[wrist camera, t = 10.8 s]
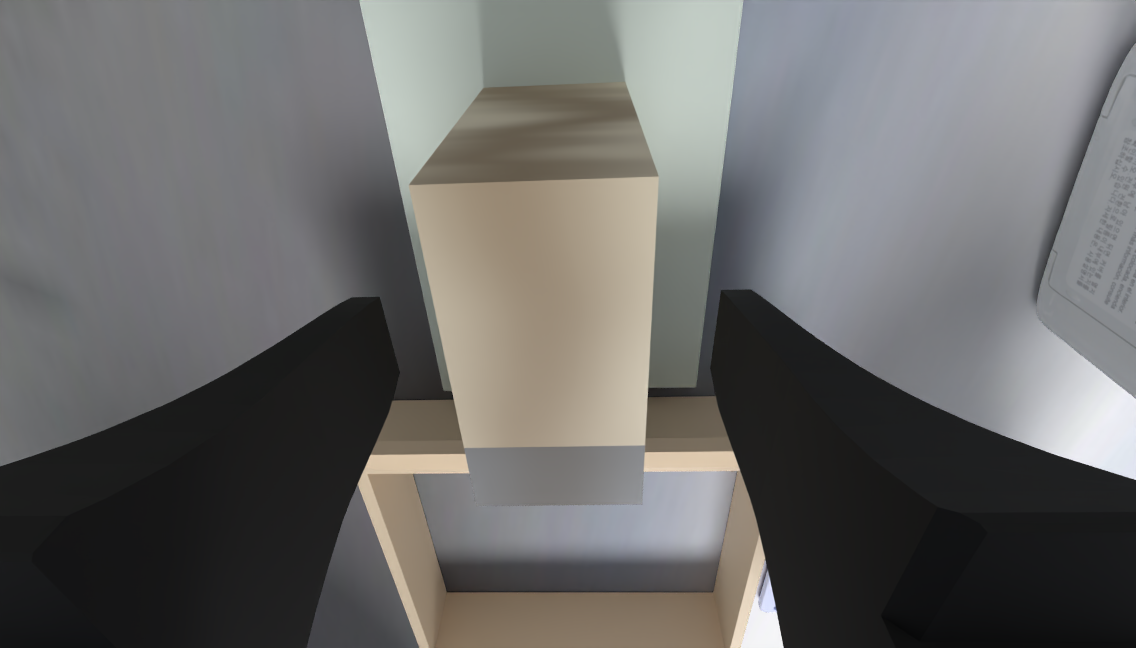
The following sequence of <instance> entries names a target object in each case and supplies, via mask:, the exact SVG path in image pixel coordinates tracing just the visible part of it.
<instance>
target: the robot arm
mask: <svg viewBox="0 0 1136 648" xmlns="http://www.w3.org/2000/svg"><path fill="white" fill-rule="evenodd" d="M710 369H711V374H712V379H713V385H714V390H715V395H716V400H717V404H718V409H719V412H720V415H721V418H722V421H723V423H724V426H725V429H726V432H727V435H728V438H729V441H730V444H731V446H732V449H733V452H734V455H735V458H736V461H737V463H738V466H739V469H740V472H741V475H742V478H743V480H744V483H745V486H746V489H747V492H748V494H749V497H750V501H751V504H752V507H753V511H754V514H755V517H756V521H757V525H758V530H759V534H760V538H761V543H762V547H763V551H764V555H765V560H766V564H767V569H768V570H767V574H766V577H765V581H764V584H763V587H762V591H761V594H760V598H759V601H758V603H759V607H760V609H761V611H764V612H777V615H778V620H779V626H780V631H781V636H782V641H783V646H784V648H1136V480H1134V479H1131V478H1127V477H1124V476H1121V475H1118V474H1115V473H1111V472H1108V471H1105V470H1102V469H1098V468H1095V467H1092V466H1089V465H1086V464H1082V463H1079V462H1076V461H1073V460H1070V459H1066V458H1063V457H1060V456H1057V455H1054V454H1051V453H1048V452H1046V451H1043V450H1040V449H1037V448H1035V447H1032V446H1029V445H1027V444H1024V443H1021V442H1018V441H1016V440H1013V439H1010V438H1008V437H1005V436H1002V435H1000V434H997V433H995V432H992V431H990V430H987V429H985V428H982V427H980V426H977V425H975V424H973V423H970V422H968V421H966V420H963V419H961V418H959V417H957V416H955V415H952V414H950V413H948V412H946V411H943V410H941V409H939V408H937V407H935V406H932V405H930V404H928V403H926V402H924V401H922V400H920V399H918V398H916V397H914V396H912V395H910V394H908V393H906V392H904V391H902V390H901V389H899V388H897V387H895V386H893V385H891V384H889V383H888V382H886V381H884V380H882V379H880V378H878V377H877V376H875V375H873V374H871V373H870V372H868V371H866V370H865V369H863V368H861V367H860V366H858V365H857V364H855V363H853V362H852V361H850V360H849V359H847V358H846V357H844V356H843V355H841V354H839V353H838V352H836V351H835V350H833V349H832V348H830V347H829V346H827V345H826V344H825V343H823V342H822V341H820V340H819V339H817V338H816V337H815V336H813V335H812V334H810V333H809V332H808V331H806V330H805V329H804V328H802V327H801V326H799V325H798V324H797V323H795V322H794V321H793V320H791V319H790V318H789V317H788V316H786V315H785V314H784V313H782V312H781V311H780V310H778V309H777V308H776V307H774V306H773V305H772V304H771V303H769V302H768V301H767V300H765V299H764V298H763V297H761V296H760V295H758V294H757V293H755V292H754V291H752V290H721V295H720V302H719V309H718V317H717V324H716V331H715V338H714V346H713V353H712V360H711V368H710ZM399 373H400V372H399V368H398V364H397V361H396V357H395V353H394V349H393V346H392V342H391V338H390V334H389V331H388V327H387V323H386V319H385V316H384V312H383V308H382V304H381V301H380V297H355V298H350V299H348V300H346V301H344V302H342V303H340V304H338V305H337V306H335V307H333V308H332V309H330V310H328V311H327V312H325V313H324V314H322V315H321V316H319V317H317V318H316V319H314V320H313V321H311V322H310V323H308V324H307V325H305V326H304V327H302V328H300V329H299V330H297V331H296V332H294V333H293V334H291V335H290V336H288V337H286V338H285V339H283V340H282V341H280V342H279V343H277V344H276V345H274V346H272V347H271V348H269V349H267V350H266V351H264V352H262V353H261V354H259V355H257V356H256V357H254V358H252V359H250V360H249V361H247V362H245V363H244V364H242V365H240V366H239V367H237V368H235V369H234V370H232V371H230V372H228V373H227V374H225V375H223V376H221V377H219V378H218V379H216V380H214V381H212V382H210V383H208V384H206V385H204V386H202V387H200V388H198V389H196V390H194V391H192V392H190V393H188V394H186V395H184V396H182V397H180V398H178V399H176V400H174V401H172V402H170V403H167V404H165V405H163V406H161V407H158V408H156V409H154V410H151V411H149V412H147V413H144V414H142V415H139V416H137V417H135V418H132V419H130V420H128V421H125V422H123V423H121V424H118V425H116V426H114V427H111V428H109V429H106V430H104V431H101V432H99V433H96V434H93V435H91V436H88V437H85V438H83V439H80V440H77V441H74V442H72V443H69V444H66V445H63V446H60V447H58V448H55V449H52V450H49V451H46V452H43V453H40V454H37V455H34V456H31V457H28V458H25V459H22V460H19V461H16V462H13V463H10V464H7V465H3V466H0V648H306V647H307V643H308V639H309V635H310V631H311V627H312V623H313V619H314V615H315V612H316V608H317V604H318V601H319V597H320V594H321V590H322V587H323V583H324V580H325V576H326V573H327V569H328V566H329V562H330V559H331V556H332V553H333V550H334V547H335V543H336V540H337V537H338V534H339V531H340V528H341V524H342V521H343V518H344V516H345V513H346V511H347V508H348V506H349V503H350V500H351V498H352V496H353V493H354V491H355V489H356V487H357V484H358V482H359V480H360V478H361V475H362V473H363V471H364V469H365V466H366V464H367V462H368V460H369V457H370V455H371V453H372V451H373V448H374V446H375V444H376V442H377V439H378V437H379V435H380V432H381V430H382V428H383V425H384V423H385V421H386V418H387V416H388V413H389V411H390V407H391V404H392V400H393V397H394V393H395V389H396V385H397V381H398V377H399Z"/></svg>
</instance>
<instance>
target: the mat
mask: <svg viewBox="0 0 1136 648" xmlns="http://www.w3.org/2000/svg"><path fill="white" fill-rule="evenodd" d="M359 1H360V5H361V10H362V15H363V19H364V24H365V28H366V33H367V38H368V42H369V47H370V52H371V56H372V61H373V66H374V70H375V75H376V80H377V84H378V89H379V94H380V98H381V103H382V107H383V112H384V117H385V121H386V126H387V131H388V135H389V140H390V145H391V149H392V154H393V159H394V163H395V168H396V172H397V177H398V182H399V186H400V191H401V196H402V200H403V205H404V210H405V214H406V219H407V224H408V228H409V233H410V237H411V242H412V247H413V251H414V256H415V261H416V265H417V270H418V275H419V279H420V284H421V289H422V293H423V298H424V303H425V307H426V312H427V316H428V321H429V326H430V330H431V335H432V340H433V344H434V349H435V354H436V358H437V363H438V368H439V372H440V377H441V381H442V386H443V391H452V389H451V384H450V379H449V374H448V370H447V365H446V360H445V356H444V351H443V346H442V341H441V337H440V332H439V327H438V322H437V318H436V313H435V308H434V303H433V299H432V294H431V289H430V284H429V280H428V275H427V270H426V266H425V261H424V256H423V251H422V247H421V242H420V237H419V232H418V228H417V223H416V218H415V213H414V209H413V204H412V199H411V194H410V190H409V184H410V183H411V181H412V180H413V179H414V177H415V176H416V175H417V174H418V172H419V171H420V170H421V168H422V167H423V166H424V164H425V163H426V162H427V160H428V159H429V158H430V157H431V155H432V154H433V153H434V151H435V150H436V149H437V147H438V146H439V145H440V144H441V142H442V141H443V140H444V138H445V137H446V136H447V134H448V133H449V132H450V131H451V129H452V128H453V127H454V125H455V124H456V123H457V121H458V120H459V119H460V118H461V116H462V115H463V114H464V112H465V111H466V110H467V108H468V107H469V106H470V105H471V103H472V102H473V101H474V99H475V98H476V97H477V95H478V94H479V93H480V92H481V90H482V89H483V88H489V87H513V86H537V85H561V84H585V83H609V82H626V85H627V88H628V91H629V94H630V96H631V99H632V102H633V105H634V108H635V111H636V113H637V116H638V119H639V122H640V125H641V127H642V130H643V133H644V136H645V139H646V142H647V144H648V147H649V150H650V153H651V156H652V159H653V161H654V164H655V167H656V170H657V173H658V175H659V184H658V204H657V223H656V243H655V262H654V281H653V301H652V320H651V340H650V359H649V379H648V388H688V387H696V383H697V375H698V367H699V359H700V350H701V342H702V334H703V326H704V318H705V310H706V301H707V293H708V285H709V277H710V269H711V261H712V252H713V244H714V236H715V228H716V220H717V212H718V203H719V195H720V187H721V179H722V171H723V163H724V154H725V146H726V138H727V130H728V122H729V114H730V105H731V97H732V89H733V81H734V73H735V65H736V56H737V48H738V40H739V32H740V24H741V16H742V7H743V0H359Z"/></svg>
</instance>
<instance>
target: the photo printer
mask: <svg viewBox="0 0 1136 648" xmlns="http://www.w3.org/2000/svg"><path fill="white" fill-rule="evenodd" d="M1036 311H1037V315H1038V318H1039V320H1040V321H1041V322H1042V323H1043V324H1044V325H1045V326H1046V327H1047V328H1048V329H1049V330H1050V331H1051V332H1053V333H1054V334H1055V335H1056V336H1058V337H1059V338H1060V339H1062V340H1063V341H1064V342H1065V343H1067V344H1068V345H1069V346H1070V347H1072V348H1073V349H1074V350H1075V351H1077V352H1078V353H1079V354H1080V355H1082V356H1083V357H1084V358H1085V359H1087V360H1088V361H1089V362H1091V363H1092V364H1093V365H1094V366H1095V367H1097V368H1098V369H1099V370H1100V371H1102V372H1103V373H1104V374H1106V375H1107V376H1108V377H1109V378H1110V379H1112V380H1113V381H1114V382H1115V383H1117V384H1118V385H1119V386H1120V387H1122V388H1123V389H1124V390H1126V391H1127V392H1128V393H1129V394H1131V395H1132V396H1133V397H1134V398H1136V43H1135V44H1134V46H1133V47H1132V48H1131V50H1130V51H1129V53H1128V55H1127V56H1126V58H1125V60H1124V62H1123V64H1122V66H1121V68H1120V70H1119V72H1118V74H1117V76H1116V78H1115V80H1114V82H1113V84H1112V86H1111V88H1110V90H1109V93H1108V96H1107V98H1106V101H1105V103H1104V105H1103V108H1102V111H1101V115H1100V117H1099V119H1098V122H1097V124H1096V127H1095V130H1094V133H1093V135H1092V138H1091V140H1090V143H1089V146H1088V149H1087V152H1086V154H1085V157H1084V160H1083V163H1082V165H1081V168H1080V171H1079V173H1078V176H1077V179H1076V182H1075V184H1074V187H1073V190H1072V193H1071V196H1070V199H1069V202H1068V204H1067V207H1066V210H1065V213H1064V216H1063V219H1062V222H1061V225H1060V228H1059V230H1058V233H1057V236H1056V239H1055V242H1054V245H1053V248H1052V250H1051V252H1050V255H1049V259H1048V262H1047V265H1046V269H1045V272H1044V275H1043V278H1042V281H1041V285H1040V289H1039V293H1038V299H1037V305H1036Z"/></svg>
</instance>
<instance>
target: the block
mask: <svg viewBox="0 0 1136 648" xmlns="http://www.w3.org/2000/svg"><path fill="white" fill-rule="evenodd" d="M658 184H659V175H658V173H657V170H656V167H655V164H654V161H653V159H652V156H651V153H650V150H649V147H648V144H647V142H646V139H645V136H644V133H643V130H642V127H641V125H640V122H639V119H638V116H637V113H636V111H635V108H634V105H633V102H632V99H631V96H630V94H629V91H628V88H627V85H626V82H609V83H585V84H561V85H537V86H513V87H489V88H483V89H482V90H481V92H480V93H479V94H478V95H477V97H476V98H475V99H474V101H473V102H472V103H471V105H470V106H469V107H468V108H467V110H466V111H465V112H464V114H463V115H462V116H461V118H460V119H459V120H458V121H457V123H456V124H455V125H454V127H453V128H452V129H451V131H450V132H449V133H448V134H447V136H446V137H445V138H444V140H443V141H442V142H441V144H440V145H439V146H438V147H437V149H436V150H435V151H434V153H433V154H432V155H431V157H430V158H429V159H428V160H427V162H426V163H425V164H424V166H423V167H422V168H421V170H420V171H419V172H418V174H417V175H416V176H415V177H414V179H413V180H412V181H411V183H410V184H409V190H410V194H411V199H412V204H413V209H414V213H415V218H416V223H417V228H418V232H419V237H420V242H421V247H422V251H423V256H424V261H425V266H426V270H427V275H428V280H429V284H430V289H431V294H432V299H433V303H434V308H435V313H436V318H437V322H438V327H439V332H440V337H441V341H442V346H443V351H444V356H445V360H446V365H447V370H448V374H449V379H450V384H451V389H452V393H453V398H454V403H455V408H456V412H457V417H458V422H459V427H460V431H461V436H462V441H463V446H464V450H465V455H466V460H467V464H468V469H469V474H470V479H471V483H472V488H473V493H474V498H475V502H476V506H535V505H639V504H642V496H643V476H644V457H645V437H646V418H647V398H648V379H649V359H650V340H651V320H652V301H653V281H654V262H655V243H656V223H657V204H658Z"/></svg>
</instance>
